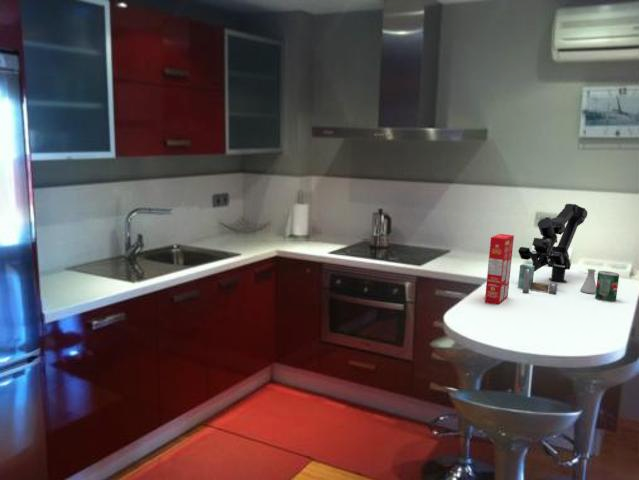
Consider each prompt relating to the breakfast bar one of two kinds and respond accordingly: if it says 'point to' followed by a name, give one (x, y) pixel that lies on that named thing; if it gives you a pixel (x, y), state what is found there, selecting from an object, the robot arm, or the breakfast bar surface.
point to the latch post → (526, 281)
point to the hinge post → (552, 288)
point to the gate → (532, 284)
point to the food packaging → (499, 268)
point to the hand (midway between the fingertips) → (533, 270)
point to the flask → (589, 283)
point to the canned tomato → (607, 286)
